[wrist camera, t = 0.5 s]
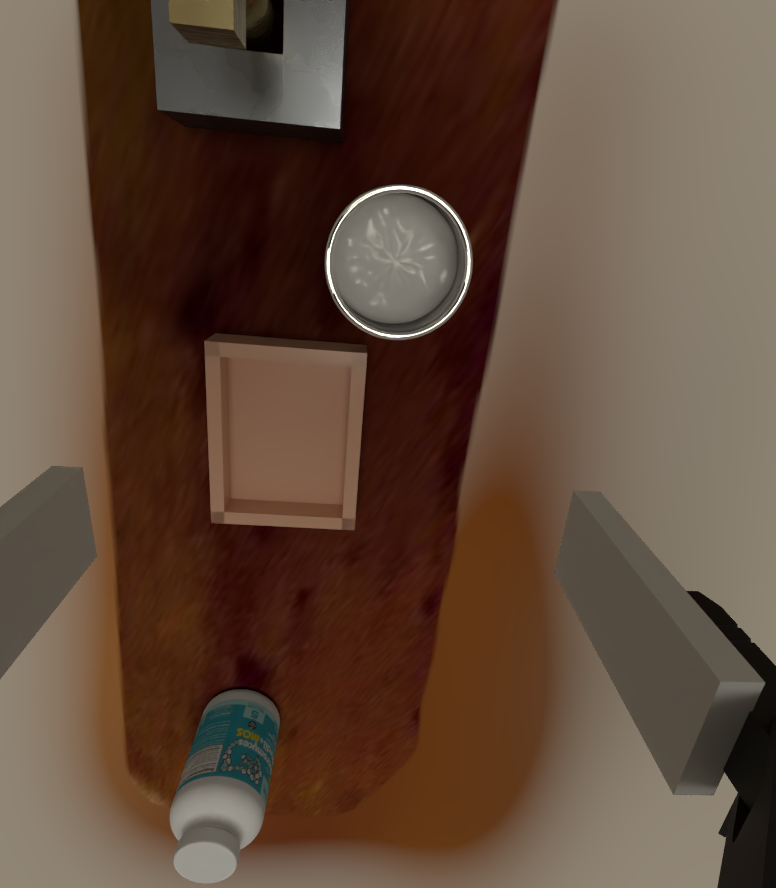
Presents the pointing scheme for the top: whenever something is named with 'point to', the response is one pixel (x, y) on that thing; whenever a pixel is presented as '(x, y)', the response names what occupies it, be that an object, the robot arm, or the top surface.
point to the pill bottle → (224, 784)
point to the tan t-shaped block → (228, 24)
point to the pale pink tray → (284, 430)
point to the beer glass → (398, 261)
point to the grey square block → (259, 76)
